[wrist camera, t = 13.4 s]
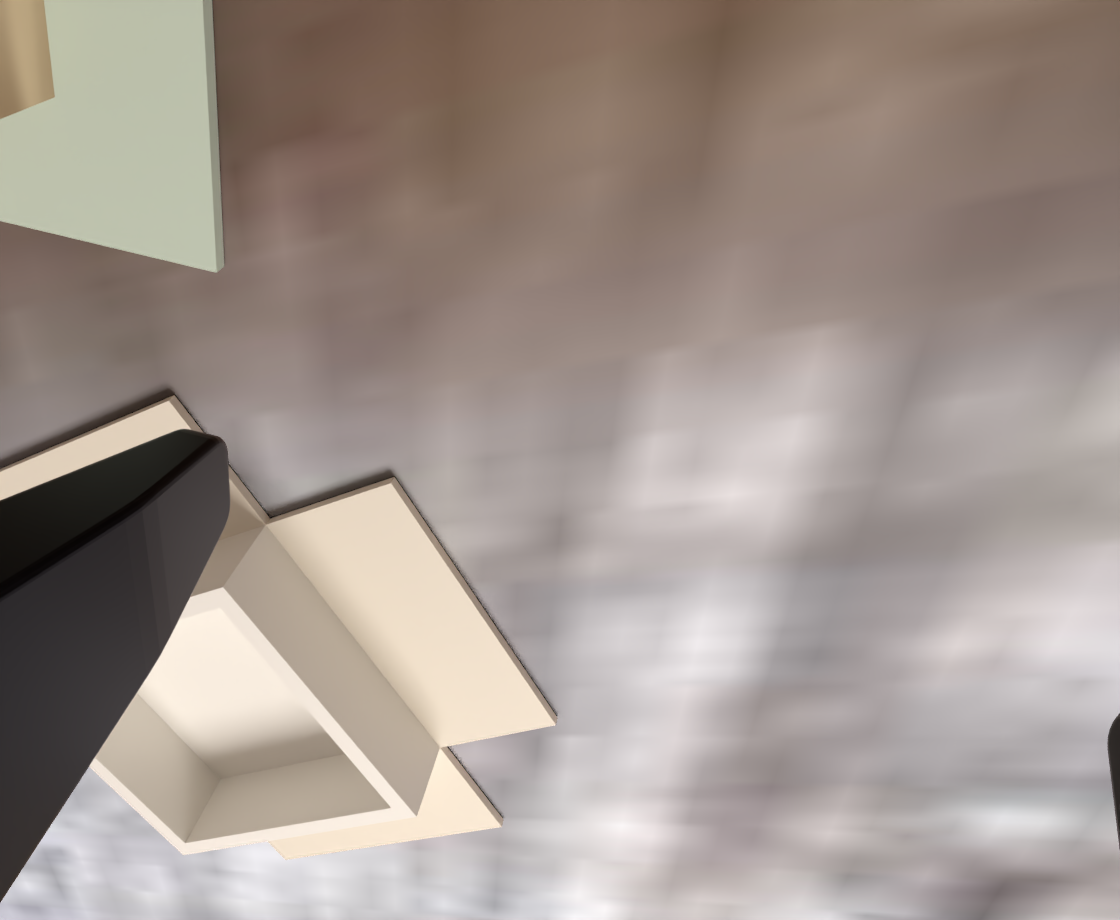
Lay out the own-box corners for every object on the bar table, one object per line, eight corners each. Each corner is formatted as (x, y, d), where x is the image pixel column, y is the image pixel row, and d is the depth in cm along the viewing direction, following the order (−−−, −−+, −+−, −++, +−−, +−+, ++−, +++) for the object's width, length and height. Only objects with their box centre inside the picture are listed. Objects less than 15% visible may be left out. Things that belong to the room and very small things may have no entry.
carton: (302, 340, 24) (250, 400, 21) (614, 802, 32) (603, 882, 30) (-146, 530, 31) (-223, 591, 28) (207, 865, 40) (171, 934, 37)
